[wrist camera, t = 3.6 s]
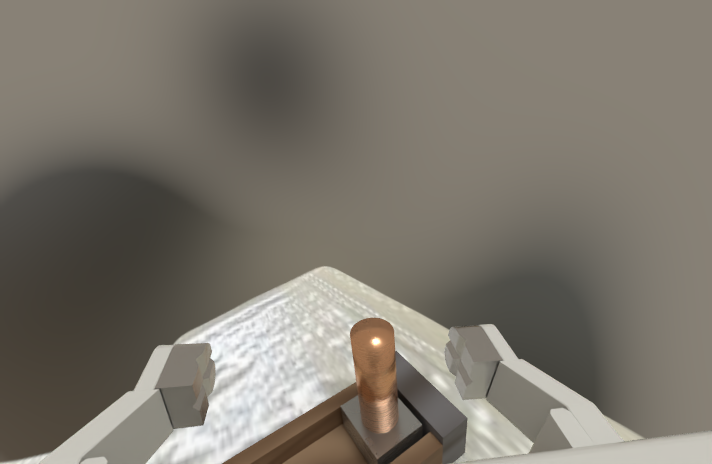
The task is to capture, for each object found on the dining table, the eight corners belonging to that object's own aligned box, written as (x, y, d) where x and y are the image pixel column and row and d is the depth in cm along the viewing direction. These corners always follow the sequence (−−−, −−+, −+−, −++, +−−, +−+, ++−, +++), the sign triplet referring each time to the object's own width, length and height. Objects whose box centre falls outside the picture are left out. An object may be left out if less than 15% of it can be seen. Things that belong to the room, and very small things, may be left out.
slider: (422, 445, 31) (421, 339, 26) (379, 479, 29) (367, 372, 23) (383, 399, 36) (375, 301, 30) (343, 426, 34) (326, 325, 28)
